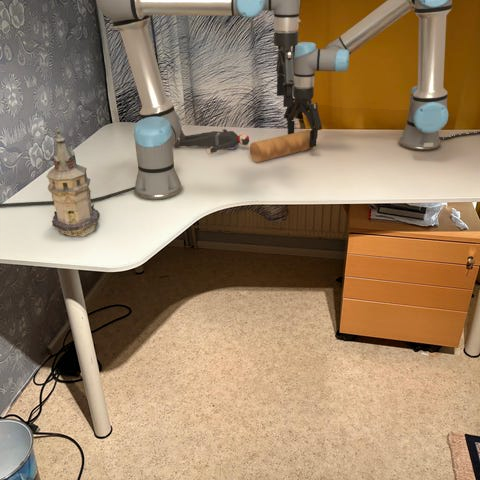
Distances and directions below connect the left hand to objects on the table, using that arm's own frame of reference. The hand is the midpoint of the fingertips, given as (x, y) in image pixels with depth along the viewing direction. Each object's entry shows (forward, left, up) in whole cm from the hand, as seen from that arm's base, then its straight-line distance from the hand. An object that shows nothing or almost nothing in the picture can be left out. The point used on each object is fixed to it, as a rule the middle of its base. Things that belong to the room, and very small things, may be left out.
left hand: (284, 100), depth 174 cm
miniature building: (-65, -31, -27) cm, 77 cm away
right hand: (+12, +26, -23) cm, 37 cm away
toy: (-23, +34, -27) cm, 49 cm away
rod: (+4, +22, -27) cm, 35 cm away
